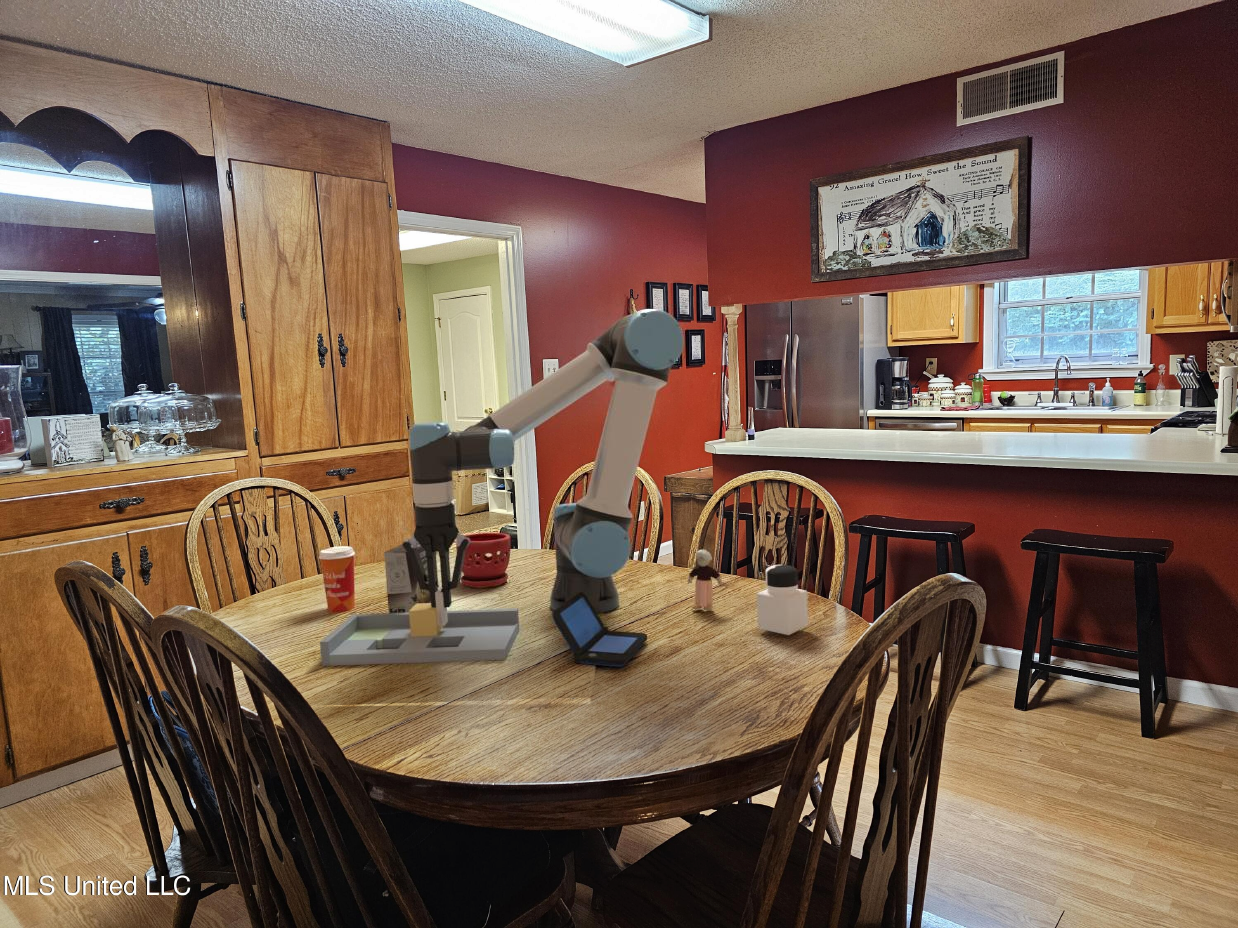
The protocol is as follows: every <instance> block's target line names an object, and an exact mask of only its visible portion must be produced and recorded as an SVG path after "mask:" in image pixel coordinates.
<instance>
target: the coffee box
mask: <svg viewBox="0 0 1238 928" xmlns="http://www.w3.org/2000/svg"><path fill="white" fill-rule="evenodd" d="M417 544H418V546H417V549H418V551H419V554H420V557H421V560H422V563H423V566H424V569H425V572H426V575H427V578H428V569H427V558H426V552H425V550H424V549H423V548H422V546H421V545H420V544H419V543H418V542H417ZM383 555H384V566H385V579H386V581H385V583H386V595H387V607H388V613H404V612H409V611H410V610H411V609H412V607H413V606H414V605H415V604H418V603H431V599H430V592H429V591H428V590H425V589H423V590H422V589H420V587H419V584H418V581H417V578H416V574H415V571H414V568H413V565H412V562H411V559H410V556H409V553H408V552H407V551H406V550H405V548H404V547H403V543H402V544H400V545H397V546H395V547H393V548H391V549H389V550H386V551H384V553H383Z"/></svg>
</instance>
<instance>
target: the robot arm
mask: <svg viewBox="0 0 1238 928" xmlns="http://www.w3.org/2000/svg"><path fill="white" fill-rule="evenodd" d="M684 342H685V339H684V332H683V329H682V327H681V326H680V323H679V322H678V320H677V319H676V318H675V317H674V316H673V315H671V314H670V313H669V312H667V311H664V310H661V309H656V308H655V309H653V308H652V309H651V308H645V309H641V310H638V311H637V312H635V313H631V314H628V315H625V316H623V317H621V318H620V319H618V320H617V321H616V322H615V323H614V324H612V325H611V326H610V327H609V328H607V330H605V331H604V332H602V333H601V334H600V335H599V336H598V337H596V338H595V339H594V340H592V341H590V342H589V343H588V344H587V348H586V349H585V351H584V352H582V353H581V354H580V355H578V356H576V357H575V358H574V359H572V360H571V361H569V362H567V363H566V364H564V365H562V366H561V367H560V368H559V369H556V371H554V372H552V373H551V374H550V375H547V376H546V377H545V378H544V379H542V380H541V381H539V382H537V383H536V384H534V385H532V386H531V387H530V388H528V389H526V390H524V391H523V392H521V394H518V396H515V398H513V399H512V400H510V401H509V402H507V403H506V404H504V405H503V406H500V408H497V409H496V410H495V411H494V412H492V413H490V414H488V416H487V417H484V418H483V419H481V420H480V421H479V422H477V423H475V424H473V425H470V426H468V427H466V428H465V429H464V430H463V431H451V429H450V426H449V423H447V422H446V421H445V422H443V421H438V422H419V423H414V424H413V425H411V427H410V428H409V436H408V437H409V456H410V459H409V460H410V467H411V478H412V496H413V498H412V499H413V503H414V504H415V506H414V509H413V511H414V522H415V523H414V525H415V529H414V532H413V536H412V537H410V538H409V539H408V538H407V539H406V540H405V541H404V542H403V543H402V544H403V547H404V548H405V550H406V551H407V552H408V553H409V556H410V559H411V562H412V565H413V568H414V571H415V574H416V578H417V581H418V584H419V587H420V589H422V590H423V589H425V590H428V591H429V592H430V599H431V607H432V608H436V610H437V624H438V626H445V624H446V623H447V622H448V617H447V611H448V608H450V607H451V606H452V602H453V601H452V590H454V589H456V588H457V587H458V586H459V585H460V584H461V577H462V574H463V572H462V569H463V563H464V558H465V552H466V548H467V546H468V545H469V543H470V541H471V539H470V538H469V537H464V535H462V534H461V533H460V531H459V528H458V527H457V524H456V509H455V504H454V503H453V501H454V499H455V494H454V482H453V472H460V471H471V470H472V471H474V470H491V469H492V470H493V469H495V470H499V469H502V468H510V467H512V466H513V464H514V462H515V443H514V442H516V441H518V440H519V439H520V438H522V437H524V436H525V435H527V434H528V433H530V432H531V431H533V430H534V429H536V428H537V427H539V426H540V425H541V424H543V423H544V422H546V421H547V420H549V419H550V418H552V417H554V416H555V415H556V414H558V413H559V412H561V411H562V410H564V409H565V408H567V407H568V406H570V405H572V404H573V403H574V402H576V401H577V400H580V399H581V398H582V397H583V396H585V395H586V394H588V393H589V392H591V391H592V390H594V389H595V388H597V387H598V386H601V384H603V383H605V382H611V383H612V382H614V386H613V389H612V393H611V398H610V402H609V405H608V409H607V414H606V418H605V421H604V425H603V429H602V433H601V437H600V440H599V445H598V449H597V452H596V456H595V460H594V463H593V467H592V471H591V475H590V476H591V477H590V479H589V484H588V486H587V487H588V488H587V491H586V495H585V496H583V497H582V498H580V499H578V500H576V501H577V502H573V503H570V502H569V503H562V504H557V505H556V506H555V507H554V508H553V517H552V522H553V530H554V531H553V532H554V546H555V547H554V550H555V567H556V573H555V574H556V575H555V579H554V582H553V586H552V589H551V594H550V597H549V601H550V606H549V607H550V609H551V610H552V612H553V611H554V610H556V609H557V608H559V607H560V606H561V605H563V604H564V603H565V602H567V601H568V600H570V599H571V598H572V597H574V596H575V595H577V594H578V593H579V592H583V593H584V594H585V595H586V596H587V598H588V599H589V601H590V603H591V604H592V606H593V608H594V609H595V611H596V614H597V615H598V614H602V613H607V612H609V611H612V610H615V609H616V608H618V606H619V605H620V597H619V592H618V588H617V586H616V584H615V581H614V578H613V575H615V574H617V573H618V572H620V571H621V570H622V569H623V568H624V566H625V565H626V564H627V562H628V560H629V558H630V556H631V555H630V554H631V540H630V536H629V532H630V527H631V523H632V519H633V517H634V516H633V514H632V512H631V510H630V508H629V506H628V505H629V501H630V497H631V493H632V491H633V490H632V489H633V486H634V482H635V478H636V475H637V470H638V466H639V462H640V459H641V455H642V451H643V447H644V445H645V444H644V443H645V440H646V435H647V432H648V427H649V424H650V420H651V416H652V412H653V408H654V405H655V400H656V396H657V394H658V391H659V390H660V389H661V388H664V387H665V386H666V385H667V384H668V379H669V376H670V373H671V369H672V366H673V365H674V364H675V363H676V362H677V360H678V359H679V358H680V356H681V355H682V352H683V349H684V346H685V345H684V344H685V343H684ZM456 540H457V546H458V547H459V548H458V550H457V549H456V555H455V560H454V565H453V566H454V567H453V572H452V577H451V565H450V563H451V561H450V549H451V547H452V546H453V545H454V542H455V541H456ZM417 543H419V544H420V545H421V546H422V548H423V549H424V550H425V552H426V558H427V569H428V578H427V575H426V572H425V569H424V566H423V563H422V560H421V557H420V554H419V551H418V549H417V546H418V544H417ZM437 553H438V557H439V563H440V564H439V565H440V580H441V588H439V587H440V584H439V578H438V563H437ZM451 578H452V579H451Z"/></svg>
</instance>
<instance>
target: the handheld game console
mask: <svg viewBox="0 0 1238 928" xmlns="http://www.w3.org/2000/svg"><path fill="white" fill-rule="evenodd" d="M551 616H552V617H551V618H552V619H553V621H554V623H555V625H556V626H557V628H558V630H559V631H560V634H561V635H562V637H563V638H564V640H565V642H566V643H567V645H568V647H569V648H570V650H571V651H572V653H574V656H573V657H574V660H573V661H574V664H578V665H579V664H583V665H584V664H585V665H586V664H587V665H595V666H608V667H623V666H625V665H626V664H628V662H629V661H630V660H631V659H632V658H633V657H634V655H635V654H636V653H637V652H638V651H639V650H640V648H641V647H642V646H644V644H645V643H646V642H647V640H648V635H647V633H644V632H634V631H633V632H631V631H620V630H619V631H618V630H609V628H608V626H605V624H604V623H603V621H602V618H601V617H600V616H599V615H598V613H597V614H596V611H595V609H594V608H593V606H592V604H591V603H590V601H589V599H588V598H587V596H586V595H585V594H584V593H583V592H579V593H578V594H577V595H575V596H574V597H572V598H571V599H570V600H568V601H567V602H565V603H564V604H563V605H561V606H560V607H559V608H557V609H556V610H554V611H553V610H552V614H551Z"/></svg>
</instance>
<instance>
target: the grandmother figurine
mask: <svg viewBox="0 0 1238 928" xmlns="http://www.w3.org/2000/svg"><path fill="white" fill-rule="evenodd" d="M695 556H696V557H695V558H696V562H697V565H696V566H695V567H693V568H692V569H691V571H690V572H689V575H688V579H687V580H686V581H687V583H688V584H692V582H693V580H694V578H695V577H696V579H695V589H694V590H695V592H694V593H695V594H694V604H693V605H692V606H691V609H693V610H700V609H703V611H712V610H713V609H714V606H713V598H714V596H713V594H714V591H713V589H714V588H713V582H712V580H716V581H717V585H723V582H724V581H723V580H722V578H721V574H720V573H719V572H718V571H717V570H716V569H715V568H714V567H713V566H710V565H709V564H710V562H711V561H712V560H713V557H712V554H711V553H710V552H709V551H707V550H706V549H699V550H697V552H696V554H695ZM712 578H713V579H712Z"/></svg>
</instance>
